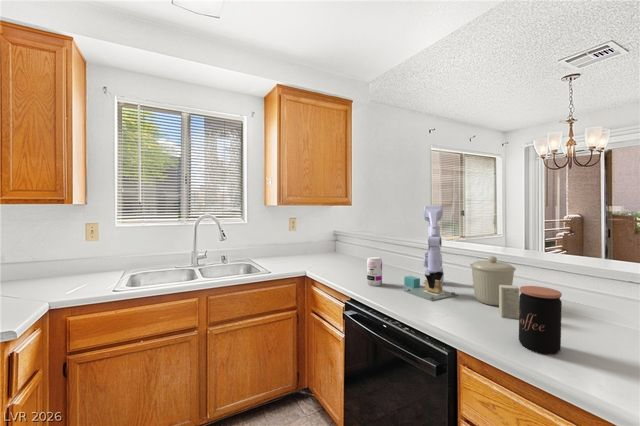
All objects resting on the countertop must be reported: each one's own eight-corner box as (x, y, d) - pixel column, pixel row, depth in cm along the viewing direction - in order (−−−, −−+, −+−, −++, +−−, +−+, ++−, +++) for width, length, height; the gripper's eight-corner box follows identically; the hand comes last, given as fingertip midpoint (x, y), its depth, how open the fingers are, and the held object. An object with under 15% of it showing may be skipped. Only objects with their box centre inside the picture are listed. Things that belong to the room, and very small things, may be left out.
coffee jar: (510, 340, 100) (511, 286, 99) (541, 339, 101) (542, 285, 100) (536, 356, 89) (537, 295, 89) (570, 355, 90) (571, 294, 89)
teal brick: (410, 284, 169) (410, 275, 169) (419, 287, 163) (420, 278, 163) (404, 285, 167) (404, 276, 167) (413, 288, 161) (413, 279, 161)
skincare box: (516, 315, 122) (516, 285, 122) (519, 319, 118) (519, 288, 117) (498, 313, 124) (498, 284, 124) (500, 317, 120) (501, 286, 119)
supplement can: (381, 282, 173) (381, 256, 173) (382, 286, 165) (382, 259, 165) (366, 282, 174) (366, 256, 174) (367, 286, 166) (367, 258, 166)
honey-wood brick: (429, 288, 156) (429, 278, 156) (442, 291, 151) (442, 281, 151) (424, 289, 153) (424, 280, 153) (437, 292, 148) (437, 282, 148)
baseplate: (429, 286, 164) (429, 284, 164) (457, 295, 148) (457, 292, 148) (404, 291, 156) (404, 288, 156) (431, 301, 140) (431, 298, 140)
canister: (512, 299, 143) (512, 254, 142) (518, 311, 126) (519, 261, 126) (469, 294, 150) (469, 252, 150) (470, 305, 134) (470, 258, 133)
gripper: (433, 257, 159) (433, 283, 160) (419, 260, 150) (419, 288, 150) (447, 259, 154) (446, 285, 154) (432, 262, 144) (432, 291, 145)
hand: (434, 287), depth 152 cm, fingers closed on honey-wood brick, 4 cm apart
